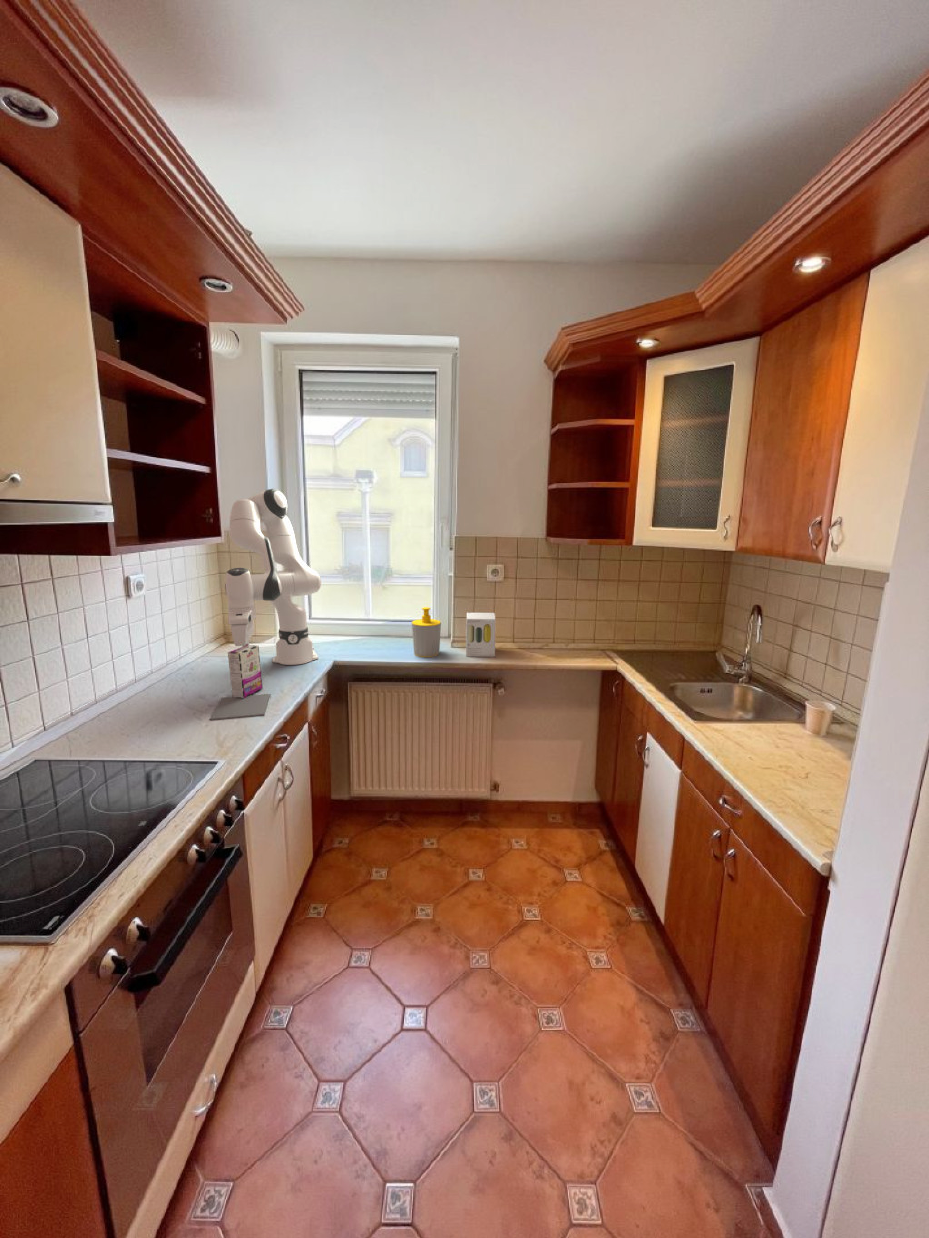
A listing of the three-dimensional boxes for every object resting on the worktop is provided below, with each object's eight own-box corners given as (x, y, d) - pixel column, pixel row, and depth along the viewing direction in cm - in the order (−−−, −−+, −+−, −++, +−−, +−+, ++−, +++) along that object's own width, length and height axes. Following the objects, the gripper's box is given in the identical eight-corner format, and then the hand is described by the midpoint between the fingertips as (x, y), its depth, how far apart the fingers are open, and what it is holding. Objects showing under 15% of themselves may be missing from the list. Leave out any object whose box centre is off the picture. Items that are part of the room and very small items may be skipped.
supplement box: (465, 656, 224) (465, 618, 220) (466, 648, 237) (466, 612, 233) (495, 657, 224) (496, 618, 220) (494, 648, 237) (495, 612, 233)
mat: (221, 699, 174) (221, 697, 174) (270, 694, 178) (270, 693, 178) (209, 720, 157) (209, 718, 157) (264, 715, 161) (264, 713, 161)
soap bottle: (441, 649, 235) (440, 604, 230) (440, 657, 222) (440, 610, 217) (413, 649, 235) (412, 605, 230) (411, 657, 222) (410, 610, 217)
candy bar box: (250, 687, 184) (247, 644, 182) (263, 688, 183) (259, 645, 181) (231, 697, 174) (226, 651, 171) (244, 698, 173) (239, 652, 170)
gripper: (238, 608, 188) (241, 644, 191) (227, 621, 169) (231, 660, 172) (256, 607, 189) (259, 642, 193) (247, 620, 170) (251, 658, 173)
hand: (246, 651), depth 182 cm, fingers closed, pressing on candy bar box
